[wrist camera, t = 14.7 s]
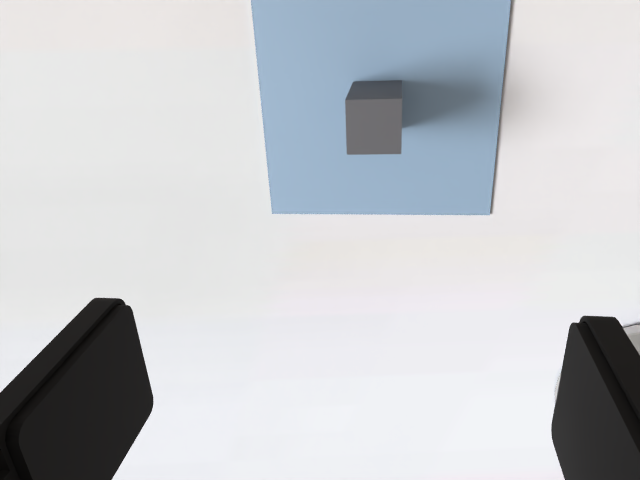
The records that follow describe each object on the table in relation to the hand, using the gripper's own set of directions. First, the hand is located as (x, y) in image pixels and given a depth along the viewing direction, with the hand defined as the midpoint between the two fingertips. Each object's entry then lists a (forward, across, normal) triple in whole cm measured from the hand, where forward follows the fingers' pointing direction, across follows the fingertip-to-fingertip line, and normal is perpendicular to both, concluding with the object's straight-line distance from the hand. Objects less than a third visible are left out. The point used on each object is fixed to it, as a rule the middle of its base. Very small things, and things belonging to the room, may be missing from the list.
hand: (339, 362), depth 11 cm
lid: (+26, 0, 0) cm, 26 cm away
